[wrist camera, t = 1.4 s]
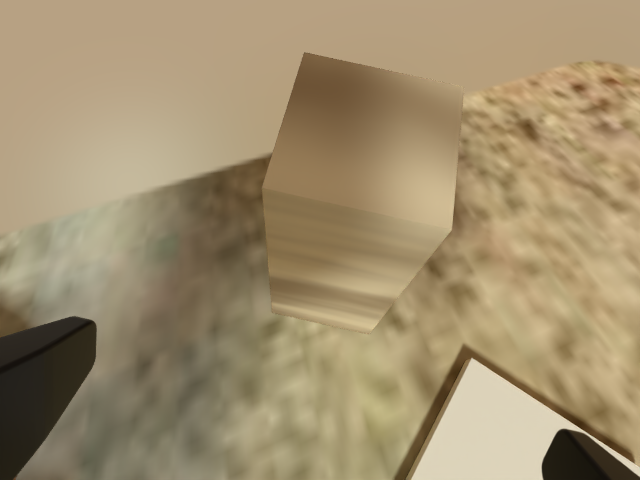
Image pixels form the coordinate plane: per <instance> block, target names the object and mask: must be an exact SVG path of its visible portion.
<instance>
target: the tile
mask: <svg viewBox="0 0 640 480" xmlns="http://www.w3.org/2000/svg"><path fill="white" fill-rule="evenodd" d="M563 428H564V429H569V430H574V431H578V432H582V433H584V434H586V435H588V436H589V437H590V438H591V439H593V440H594V441H595V442H596V443H598V444H599V445H600V446H601V447H603V448H604V449H605V450H606V451H608V452H609V453H610V454H612V455H613V456H614V457H615V458H617V459H618V460H619V461H620V462H622V463H623V464H624V465H625V466H627V467H628V468H629V469H630V470H632V471H633V472H634V473H635V474H637V475H638V476H639V477H640V467H639V466H637V465H636V464H634V463H632V462H631V461H629V460H628V459H626V458H625V457H623V456H622V455H620V454H619V453H617V452H616V451H614V450H612V449H611V448H609V447H608V446H606V445H605V444H603V443H602V442H600V441H599V440H597V439H596V438H594V437H593V436H591V435H589V434H588V433H586V432H585V431H583V430H582V429H580V428H579V427H577V426H576V425H574V424H573V423H571V422H569V421H568V420H566V419H565V418H563V417H562V416H560V415H559V414H557V413H556V412H554V411H553V410H551V409H550V408H548V407H546V406H545V405H543V404H542V403H540V402H539V401H537V400H536V399H534V398H533V397H531V396H530V395H528V394H526V393H525V392H523V391H522V390H520V389H519V388H517V387H516V386H514V385H513V384H511V383H510V382H508V381H507V380H505V379H503V378H502V377H500V376H499V375H497V374H496V373H494V372H493V371H491V370H490V369H488V368H487V367H485V366H483V365H482V364H480V363H479V362H477V361H476V360H474V359H473V358H471V359H468V360H466V361H465V363H464V365H463V367H462V369H461V371H460V373H459V375H458V377H457V379H456V381H455V383H454V385H453V387H452V389H451V391H450V393H449V394H448V396H447V398H446V400H445V402H444V404H443V406H442V408H441V410H440V412H439V414H438V416H437V418H436V420H435V422H434V424H433V426H432V428H431V430H430V432H429V434H428V436H427V438H426V440H425V442H424V444H423V446H422V448H421V450H420V452H419V454H418V456H417V458H416V460H415V462H414V464H413V466H412V468H411V470H410V472H409V474H408V476H407V478H406V480H543V477H542V469H541V467H542V461H543V458H544V456H545V454H546V452H547V450H548V448H549V446H550V444H551V442H552V440H553V438H554V436H555V434H556V433H557V431H559V430H560V429H563Z"/></svg>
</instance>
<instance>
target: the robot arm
mask: <svg viewBox="0 0 640 480" xmlns="http://www.w3.org/2000/svg"><path fill="white" fill-rule="evenodd" d="M96 332H97V328H96V324H95V322H94V321H93V320H89V319H85V318H81V317H76V316H72V317H68V318H65V319H61V320H58V321H55V322H51V323H48V324H44V325H41V326H38V327H34V328H31V329H28V330H24V331H21V332H17V333H14V334H11V335H7V336H4V337H0V480H13V479H14V478H15V477H16V476H17V474H18V473H19V472H20V471H21V469H22V468H23V467H24V466H25V464H26V463H27V462H28V461H29V459H30V458H31V457H32V456H33V454H34V453H35V452H36V451H37V449H38V448H39V447H40V445H41V444H42V443H43V442H44V440H45V439H46V438H47V436H48V435H49V433H50V432H51V430H52V429H53V427H54V426H55V424H56V423H57V421H58V420H59V418H60V417H61V415H62V414H63V412H64V411H65V409H66V407H67V406H68V404H69V403H70V401H71V400H72V398H73V397H74V395H75V394H76V392H77V391H78V389H79V388H80V386H81V384H82V383H83V381H84V380H85V378H86V377H87V375H88V374H89V372H90V371H91V369H92V367H93V365H94V362H95V358H96ZM541 469H542V477H543V480H640V477H639V476H638V475H637V474H635V473H634V472H633V471H632V470H630V469H629V468H628V467H627V466H625V465H624V464H623V463H622V462H620V461H619V460H618V459H617V458H615V457H614V456H613V455H612V454H610V453H609V452H608V451H606V450H605V449H604V448H603V447H601V446H600V445H599V444H598V443H596V442H595V441H594V440H593V439H591V438H590V437H589V436H588V435H586V434H584V433H582V432H578V431H574V430H569V429H564V428H563V429H560V430H559V431H557V433H556V434H555V436H554V438H553V440H552V442H551V444H550V446H549V448H548V450H547V452H546V454H545V456H544V458H543V461H542V467H541Z"/></svg>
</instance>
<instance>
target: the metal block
mask: <svg viewBox="0 0 640 480" xmlns="http://www.w3.org/2000/svg"><path fill="white" fill-rule="evenodd" d="M463 96H464V87H463V86H458V85H454V84H449V83H444V82H439V81H435V80H430V79H425V78H421V77H416V76H411V75H407V74H403V73H398V72H393V71H389V70H384V69H379V68H374V67H370V66H365V65H361V64H356V63H351V62H346V61H342V60H337V59H333V58H328V57H323V56H318V55H314V54H310V53H304V55H303V58H302V62H301V65H300V67H299V71H298V74H297V77H296V80H295V83H294V87H293V90H292V93H291V96H290V100H289V102H288V106H287V109H286V112H285V115H284V118H283V122H282V125H281V128H280V131H279V134H278V138H277V141H276V144H275V147H274V150H273V153H272V157H271V160H270V163H269V166H268V169H267V173H266V176H265V179H264V182H263V185H262V198H263V210H264V222H265V234H266V246H267V257H268V269H269V281H270V293H271V305H272V313H276V314H281V315H285V316H290V317H294V318H298V319H303V320H307V321H312V322H316V323H320V324H325V325H329V326H334V327H338V328H343V329H347V330H351V331H356V332H360V333H365V334H369V333H370V332H371V331H372V330H373V328H374V327H375V326H376V325H377V323H378V322H379V321H380V320H381V318H382V317H383V316H384V314H385V313H386V312H387V311H388V309H389V308H390V307H391V306H392V304H393V303H394V302H395V301H396V299H397V298H398V297H399V296H400V294H401V293H402V292H403V291H404V289H405V288H406V287H407V286H408V284H409V283H410V282H411V281H412V279H413V278H414V277H415V276H416V274H417V273H418V272H419V270H420V269H421V268H422V267H423V265H424V264H425V263H426V262H427V260H428V259H429V258H430V257H431V255H432V254H433V253H434V252H435V250H436V249H437V248H438V247H439V245H440V244H441V243H442V242H443V240H444V239H445V238H446V237H447V235H448V234H449V233H450V232H451V230H452V222H453V210H454V199H455V187H456V176H457V164H458V153H459V141H460V130H461V119H462V107H463Z"/></svg>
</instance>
